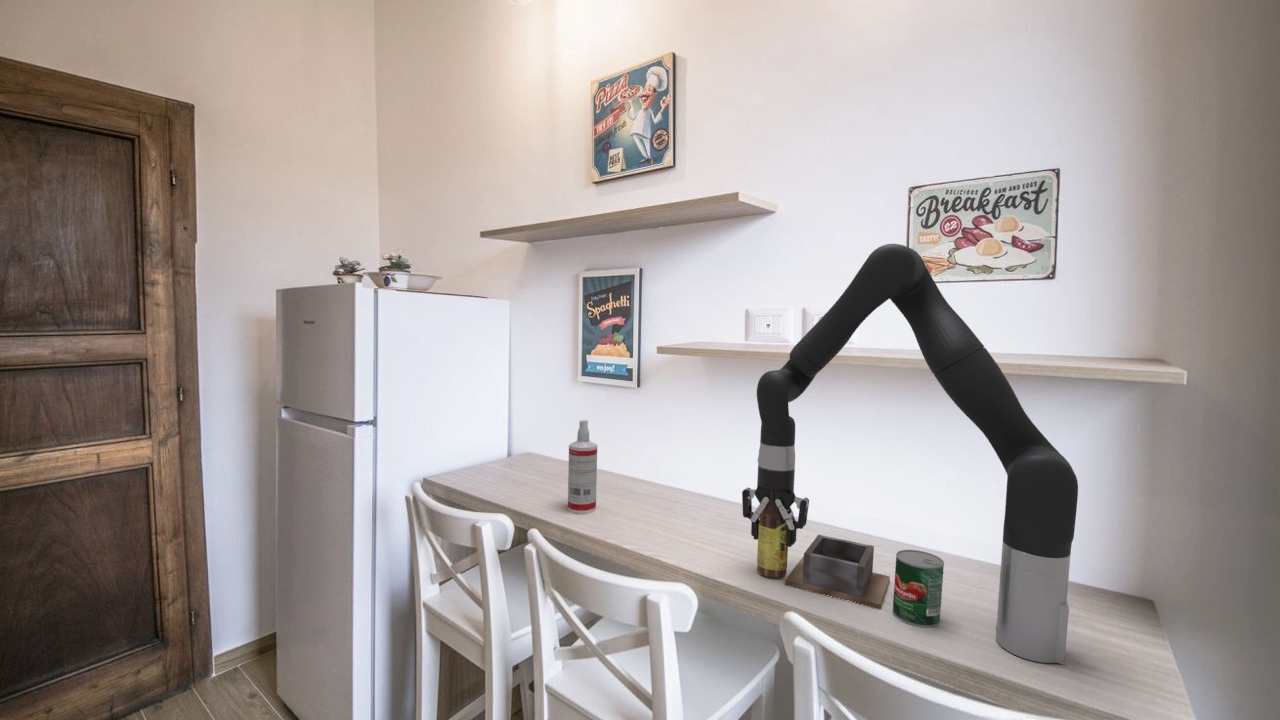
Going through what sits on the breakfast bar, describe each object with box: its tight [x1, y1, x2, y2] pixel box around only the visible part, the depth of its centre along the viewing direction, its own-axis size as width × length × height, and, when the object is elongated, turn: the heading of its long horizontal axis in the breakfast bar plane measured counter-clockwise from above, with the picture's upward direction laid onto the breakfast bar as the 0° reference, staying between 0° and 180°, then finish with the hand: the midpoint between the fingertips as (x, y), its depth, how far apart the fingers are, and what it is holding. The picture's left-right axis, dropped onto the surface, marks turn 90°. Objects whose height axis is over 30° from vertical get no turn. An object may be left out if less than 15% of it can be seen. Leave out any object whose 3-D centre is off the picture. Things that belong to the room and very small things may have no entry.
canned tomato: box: [891, 549, 945, 628], centre depth 104 cm, size 8×8×11 cm
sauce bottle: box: [756, 490, 789, 579], centre depth 121 cm, size 7×6×20 cm
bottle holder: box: [784, 534, 891, 610], centre depth 117 cm, size 18×14×7 cm
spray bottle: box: [567, 419, 598, 515], centre depth 158 cm, size 8×8×25 cm
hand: (772, 541), depth 121 cm, fingers open, 6 cm apart
